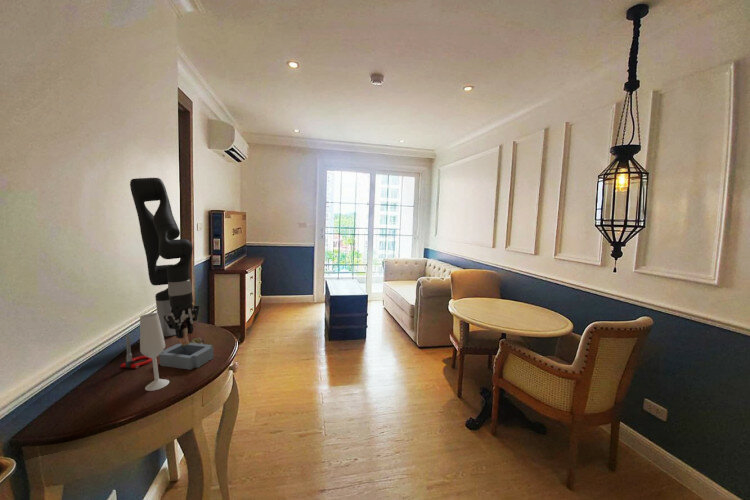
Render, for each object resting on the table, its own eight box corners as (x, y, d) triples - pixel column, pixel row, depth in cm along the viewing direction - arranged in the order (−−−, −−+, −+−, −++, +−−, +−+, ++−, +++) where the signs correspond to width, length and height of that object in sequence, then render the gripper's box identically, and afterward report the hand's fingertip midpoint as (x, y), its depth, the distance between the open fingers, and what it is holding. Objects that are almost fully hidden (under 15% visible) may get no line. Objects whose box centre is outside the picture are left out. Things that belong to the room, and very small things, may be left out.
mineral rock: (186, 338, 133) (204, 332, 134) (190, 347, 134) (208, 340, 135) (175, 350, 123) (195, 343, 124) (180, 359, 124) (200, 352, 125)
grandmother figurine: (176, 342, 117) (172, 311, 116) (187, 339, 120) (184, 308, 119) (183, 348, 112) (179, 315, 111) (194, 344, 115) (191, 312, 114)
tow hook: (141, 357, 122) (118, 368, 113) (138, 326, 121) (115, 334, 112) (159, 358, 120) (137, 369, 111) (157, 327, 119) (135, 335, 110)
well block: (182, 352, 125) (181, 341, 124) (216, 356, 120) (215, 345, 120) (157, 365, 114) (156, 353, 114) (193, 370, 110) (192, 358, 109)
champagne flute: (139, 390, 98) (130, 318, 95) (157, 378, 104) (149, 311, 101) (157, 391, 97) (149, 319, 94) (174, 379, 103) (166, 312, 100)
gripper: (188, 287, 122) (192, 328, 124) (154, 296, 108) (160, 342, 110) (203, 287, 120) (207, 329, 122) (171, 297, 106) (176, 344, 108)
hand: (185, 335), depth 116 cm, fingers closed on grandmother figurine, 3 cm apart
